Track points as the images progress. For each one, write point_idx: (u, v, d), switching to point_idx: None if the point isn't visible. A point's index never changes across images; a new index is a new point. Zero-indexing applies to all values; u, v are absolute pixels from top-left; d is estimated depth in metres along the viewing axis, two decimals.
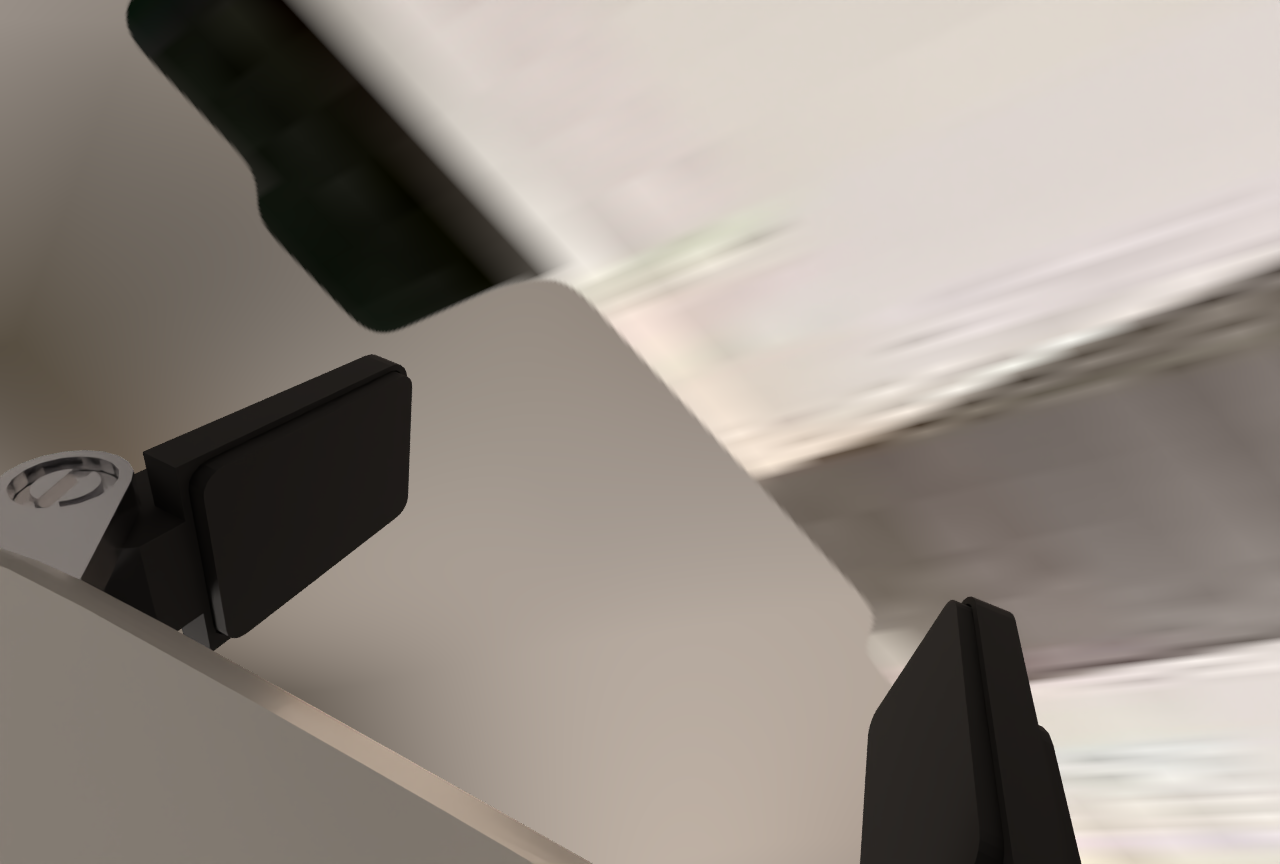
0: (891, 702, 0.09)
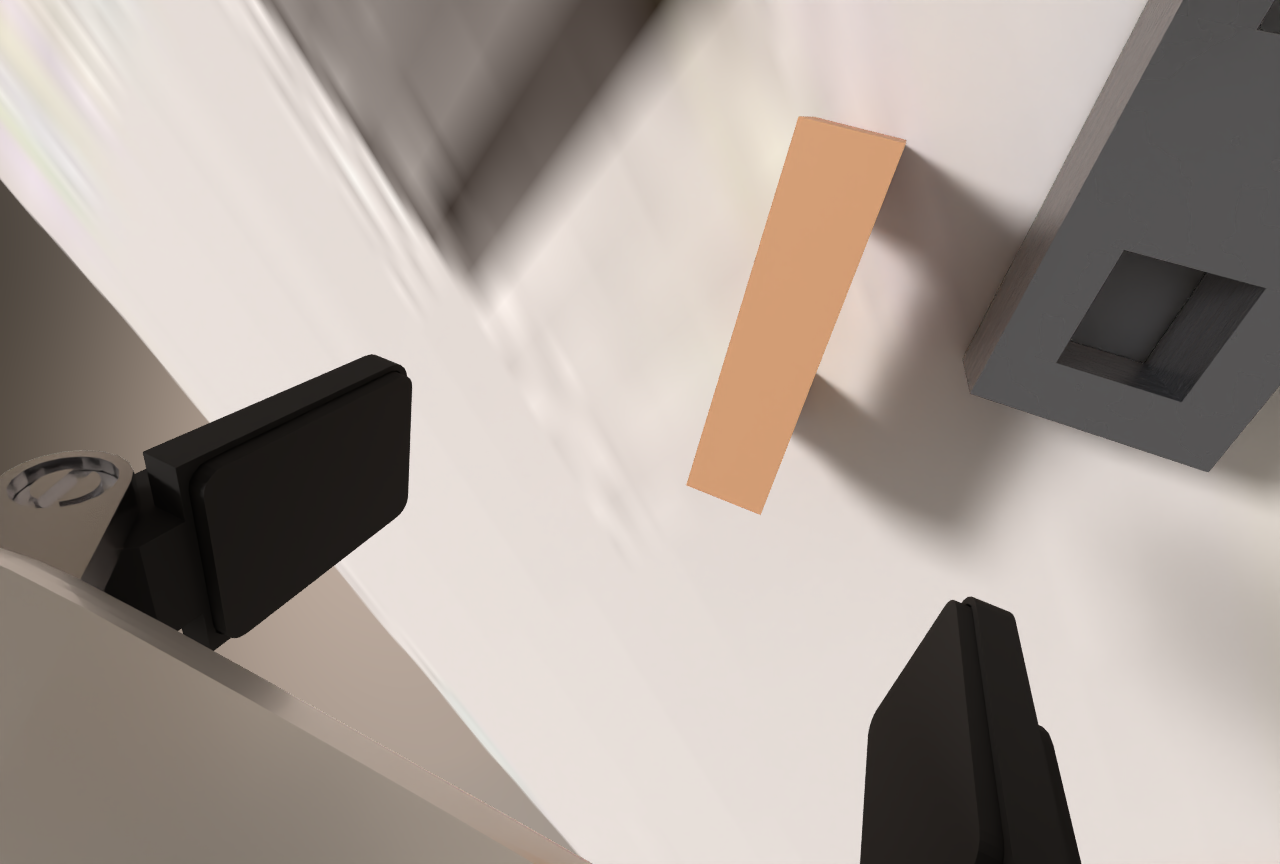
0: (890, 702, 0.09)
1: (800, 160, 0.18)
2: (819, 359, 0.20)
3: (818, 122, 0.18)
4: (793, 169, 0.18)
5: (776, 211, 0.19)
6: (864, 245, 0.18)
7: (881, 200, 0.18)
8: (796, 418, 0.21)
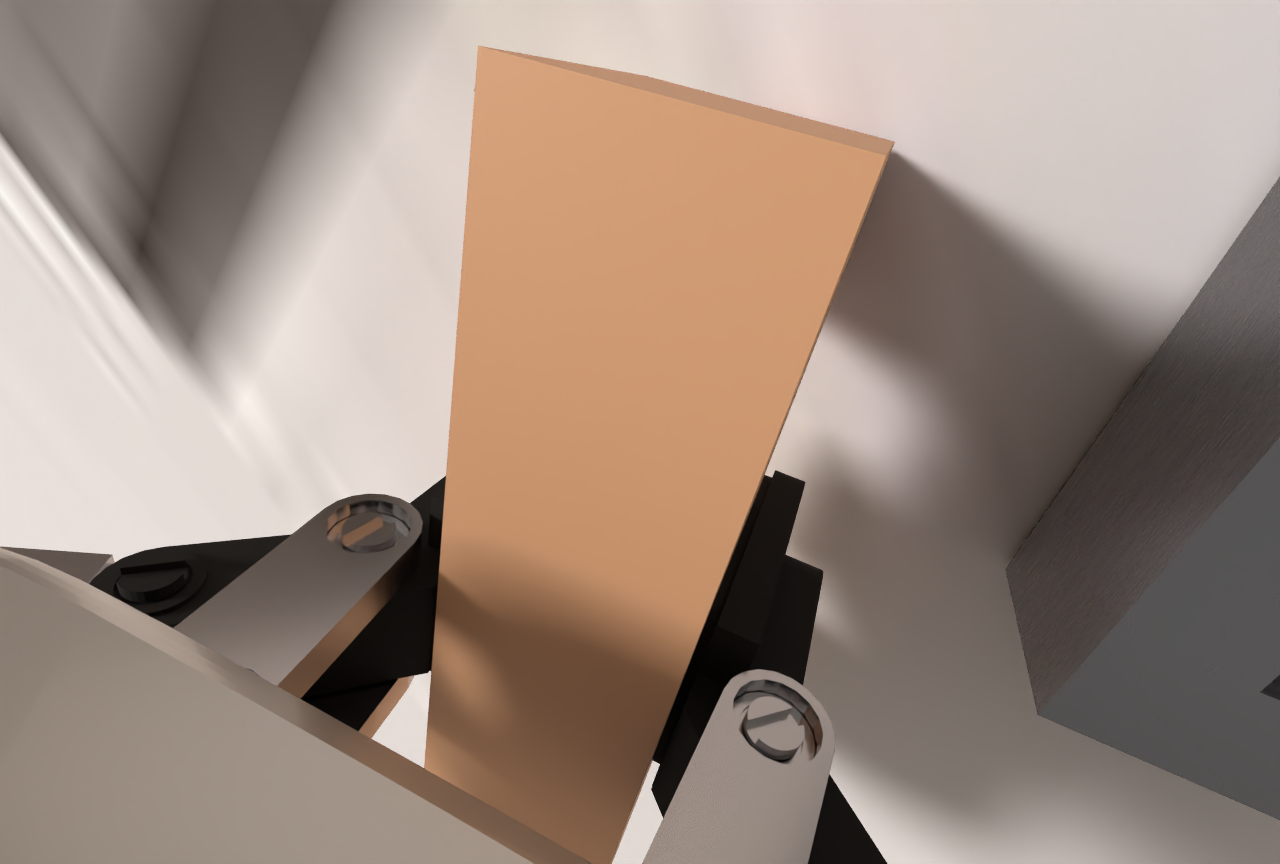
0: None
1: (511, 212, 0.05)
2: (648, 753, 0.07)
3: (547, 68, 0.04)
4: (494, 242, 0.05)
5: (472, 368, 0.06)
6: (746, 502, 0.05)
7: (796, 366, 0.05)
8: (610, 852, 0.08)
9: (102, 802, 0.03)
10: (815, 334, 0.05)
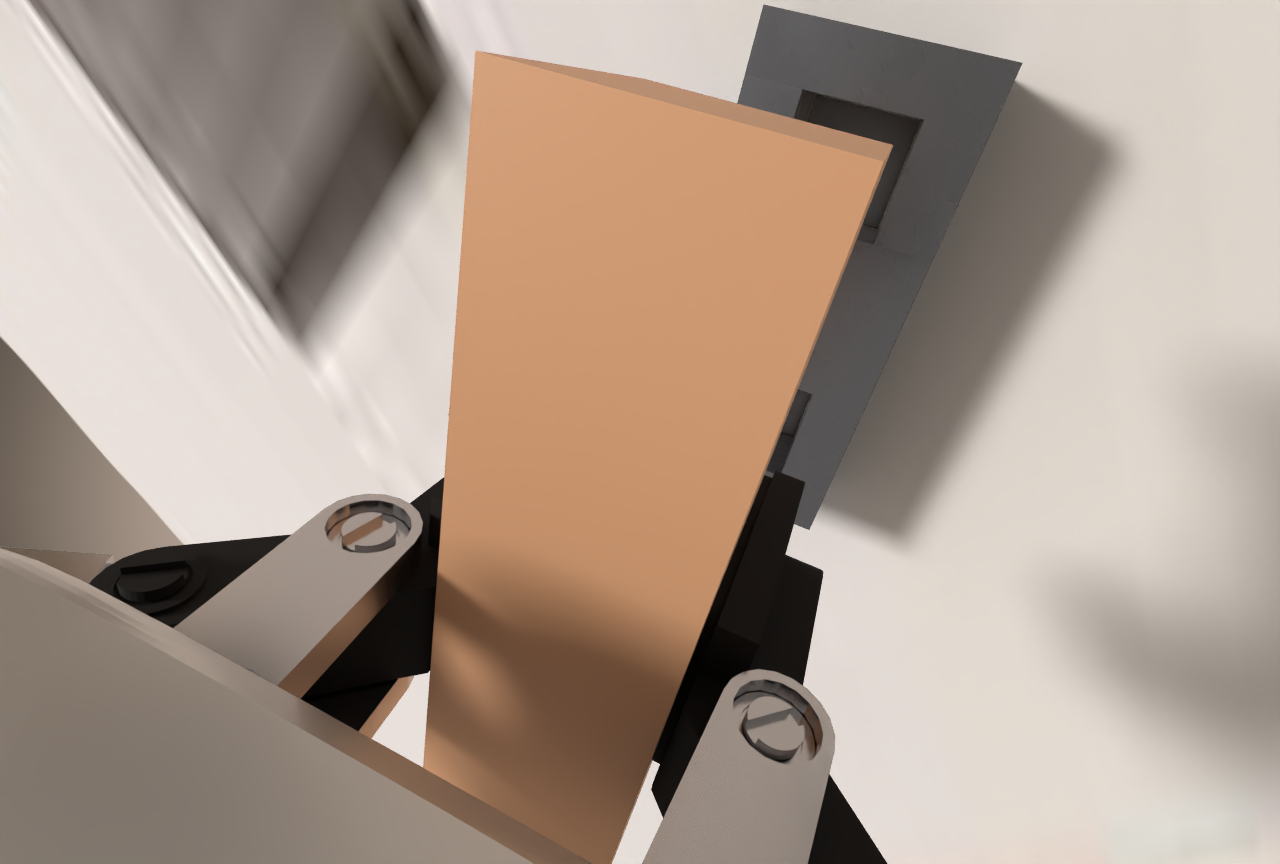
0: None
1: (508, 217, 0.05)
2: (646, 757, 0.07)
3: (544, 73, 0.04)
4: (492, 247, 0.05)
5: (470, 372, 0.06)
6: (744, 507, 0.05)
7: (794, 371, 0.05)
8: (609, 855, 0.08)
9: (103, 802, 0.03)
10: (813, 339, 0.05)
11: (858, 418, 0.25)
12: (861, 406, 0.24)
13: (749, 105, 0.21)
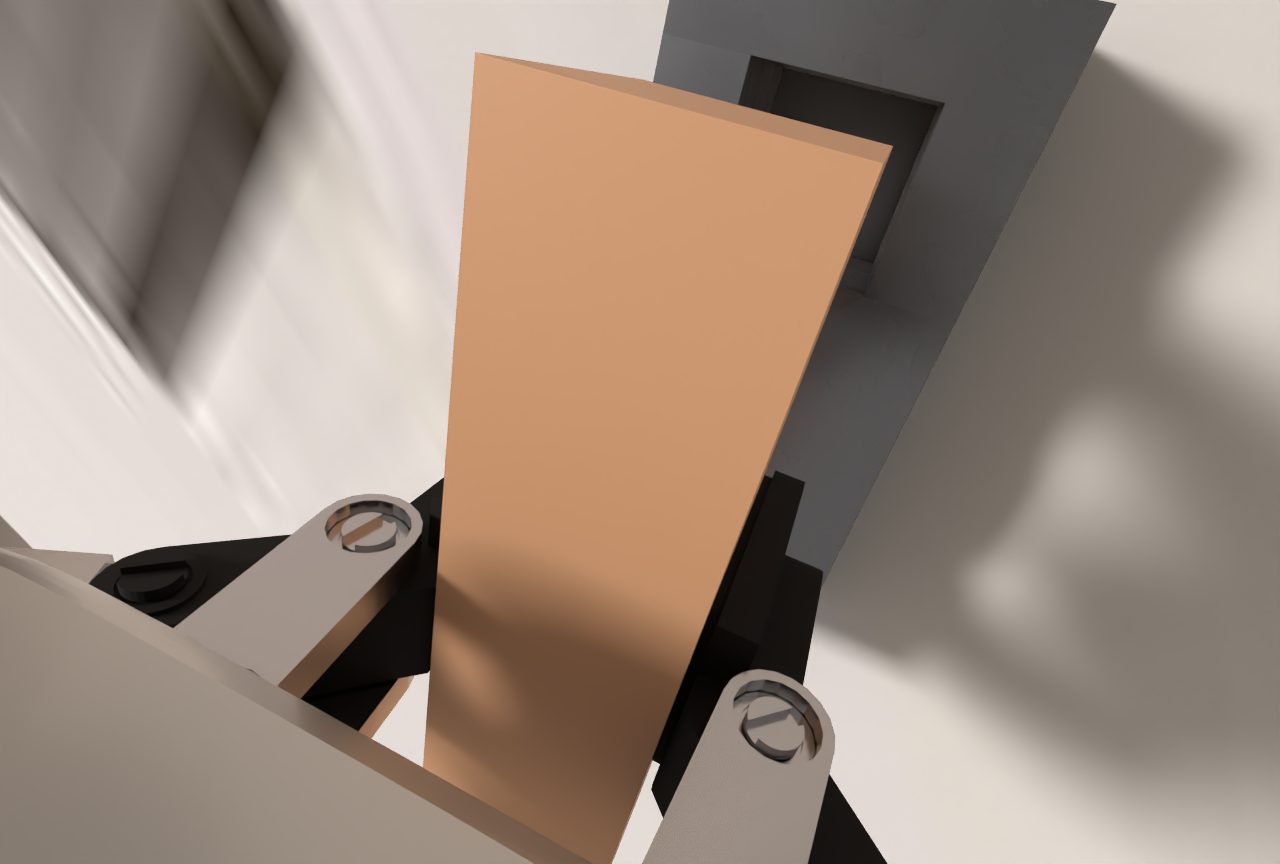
0: None
1: (508, 218, 0.05)
2: (646, 758, 0.07)
3: (544, 75, 0.04)
4: (492, 248, 0.05)
5: (470, 373, 0.06)
6: (744, 508, 0.05)
7: (794, 373, 0.05)
8: (609, 856, 0.08)
9: (103, 802, 0.03)
10: (812, 341, 0.05)
11: (843, 538, 0.17)
12: (847, 523, 0.17)
13: (671, 82, 0.14)
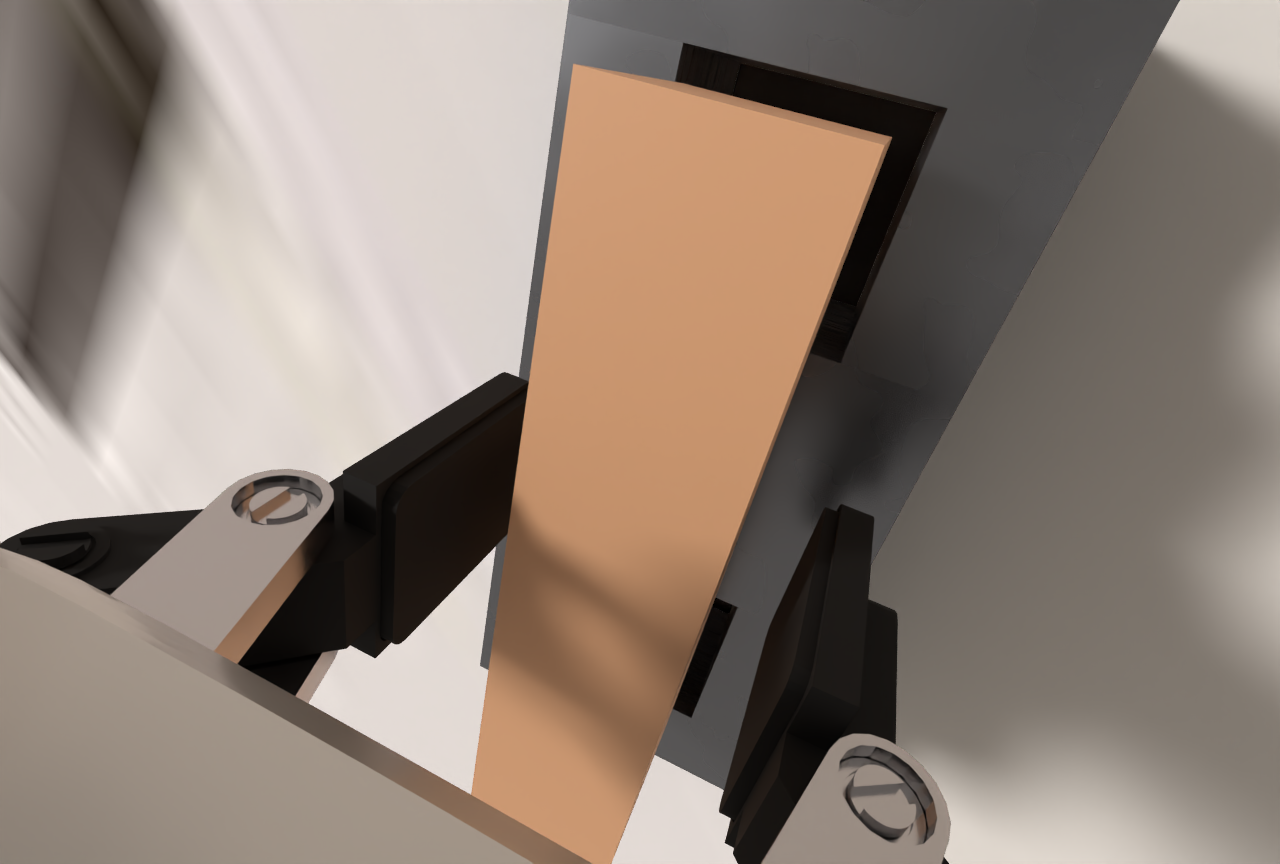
0: (781, 604, 0.11)
1: (593, 192, 0.06)
2: (688, 649, 0.09)
3: (627, 81, 0.06)
4: (578, 216, 0.07)
5: (553, 320, 0.07)
6: (775, 421, 0.07)
7: (816, 308, 0.06)
8: (652, 746, 0.10)
9: (103, 802, 0.03)
10: (831, 282, 0.06)
11: None
12: None
13: None
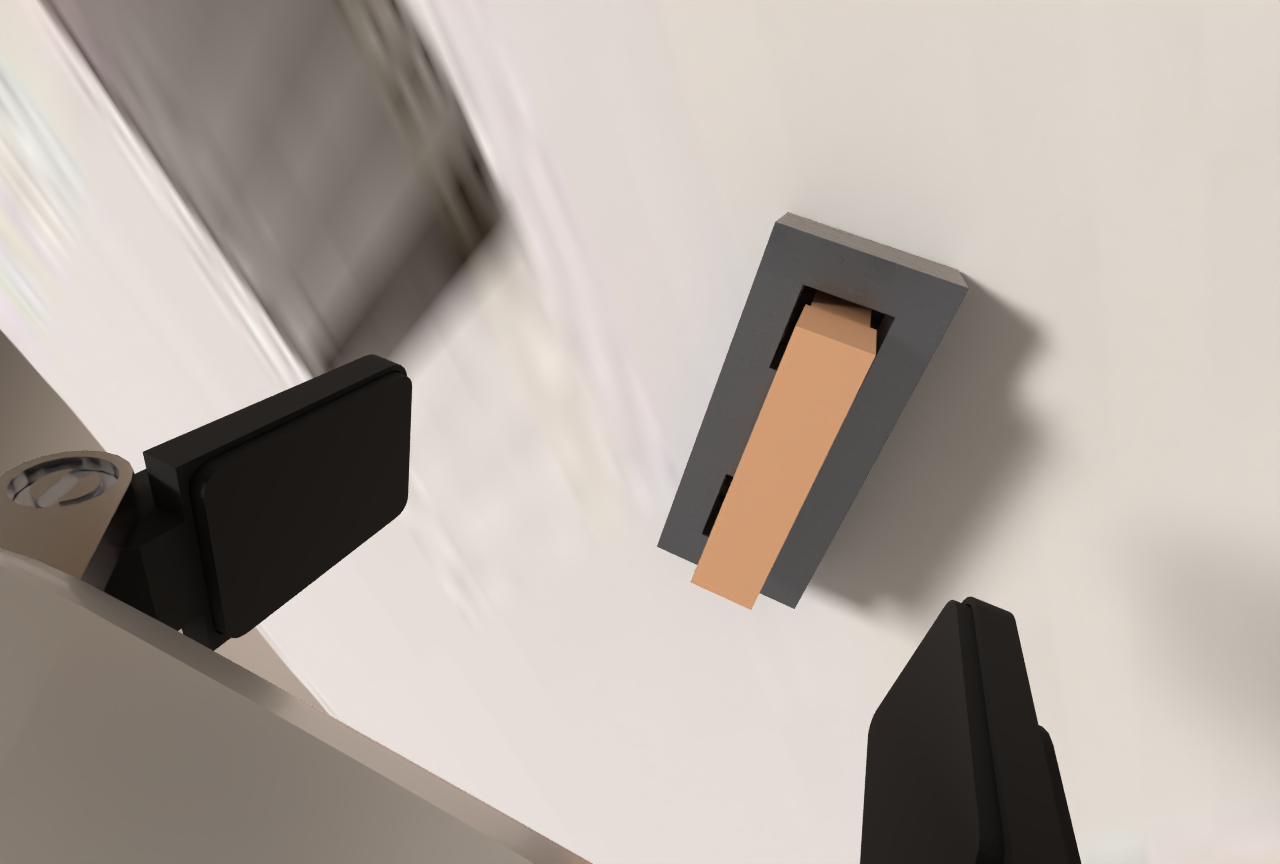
0: (892, 703, 0.09)
1: (795, 356, 0.23)
2: (804, 498, 0.26)
3: (810, 332, 0.23)
4: (789, 361, 0.24)
5: (775, 389, 0.24)
6: (842, 421, 0.24)
7: (856, 391, 0.23)
8: (784, 539, 0.27)
9: (102, 802, 0.03)
10: (860, 385, 0.23)
11: (837, 526, 0.31)
12: (840, 518, 0.30)
13: (760, 290, 0.27)
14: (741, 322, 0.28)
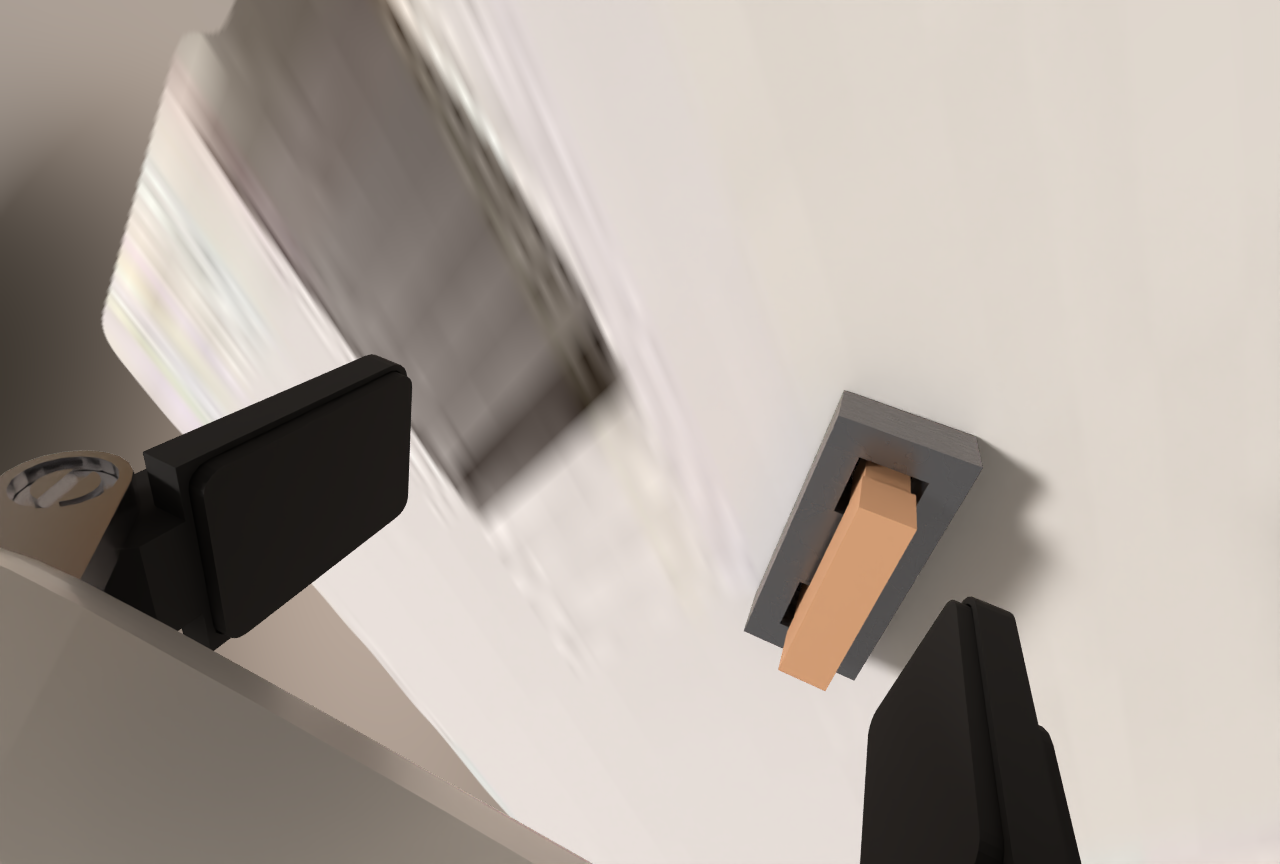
0: (891, 702, 0.09)
1: (859, 526, 0.33)
2: (865, 617, 0.35)
3: (869, 511, 0.32)
4: (854, 529, 0.33)
5: (844, 545, 0.34)
6: (893, 569, 0.33)
7: (903, 551, 0.33)
8: (850, 644, 0.36)
9: (103, 802, 0.03)
10: (906, 547, 0.33)
11: (887, 623, 0.40)
12: (889, 617, 0.40)
13: (827, 458, 0.37)
14: (812, 479, 0.38)
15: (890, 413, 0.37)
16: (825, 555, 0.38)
